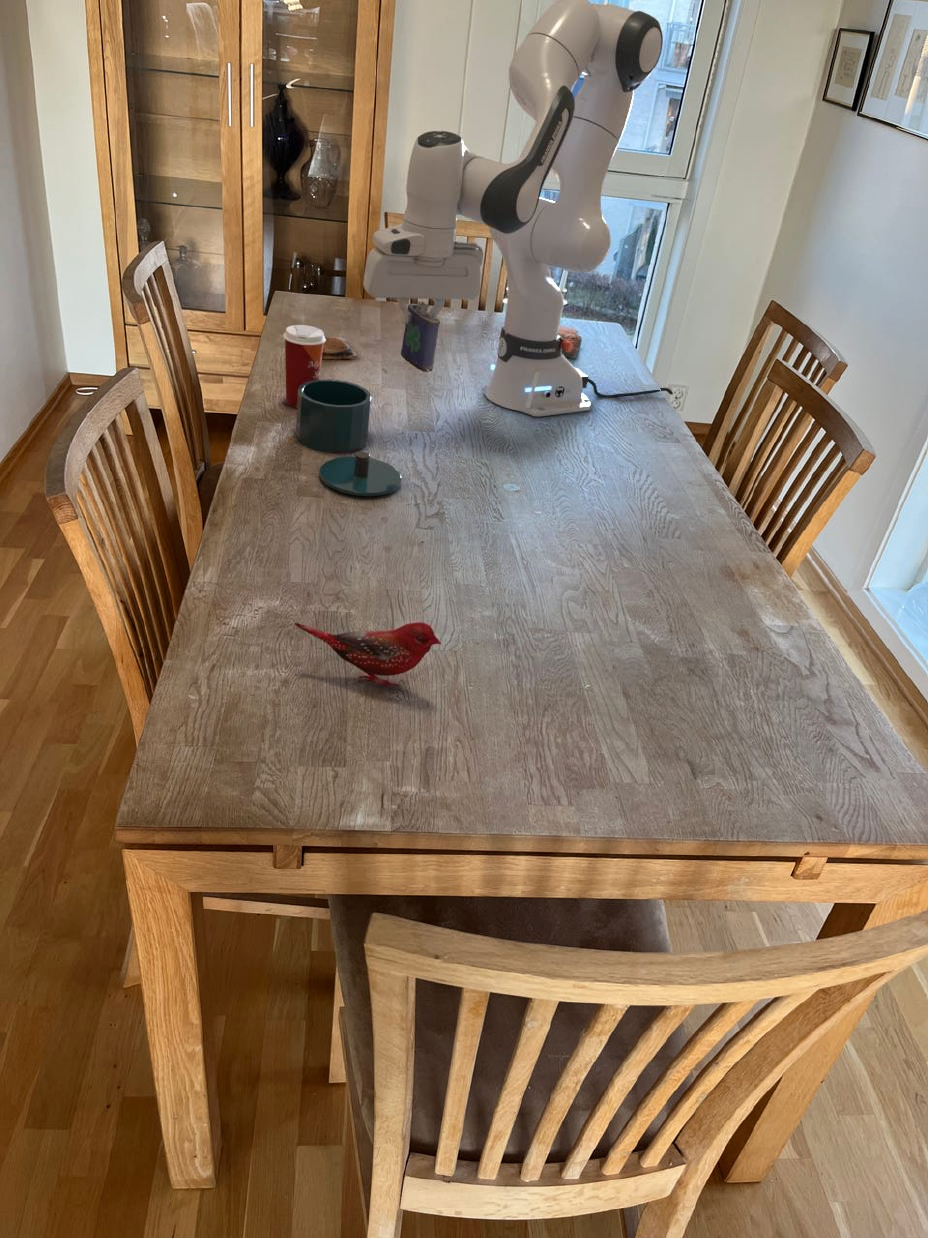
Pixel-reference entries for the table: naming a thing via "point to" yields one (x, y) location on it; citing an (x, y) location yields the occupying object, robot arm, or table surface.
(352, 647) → the decorative bird figurine
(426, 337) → the flask
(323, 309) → the table surface
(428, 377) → the table surface
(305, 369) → the paper cup
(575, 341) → the pottery shard
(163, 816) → the table surface
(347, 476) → the pot lid
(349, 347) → the bread roll
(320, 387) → the pot
